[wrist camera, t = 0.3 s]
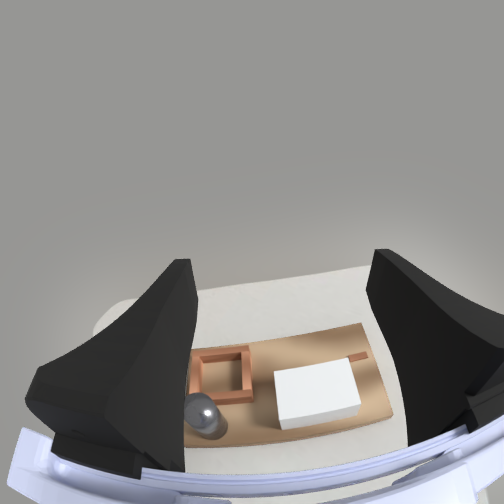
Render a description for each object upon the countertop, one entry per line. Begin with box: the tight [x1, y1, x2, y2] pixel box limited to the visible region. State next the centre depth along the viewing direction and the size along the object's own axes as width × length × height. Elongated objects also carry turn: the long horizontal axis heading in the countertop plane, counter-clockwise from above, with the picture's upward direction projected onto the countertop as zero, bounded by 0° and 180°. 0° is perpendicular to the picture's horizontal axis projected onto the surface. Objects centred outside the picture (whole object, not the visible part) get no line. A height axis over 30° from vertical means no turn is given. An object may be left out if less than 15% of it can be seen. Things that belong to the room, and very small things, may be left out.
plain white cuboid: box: [274, 358, 361, 430], centre depth 23 cm, size 5×7×3 cm
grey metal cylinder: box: [184, 392, 228, 440], centre depth 22 cm, size 3×3×5 cm
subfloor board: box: [184, 323, 393, 448], centre depth 26 cm, size 12×20×2 cm, turn 93°
